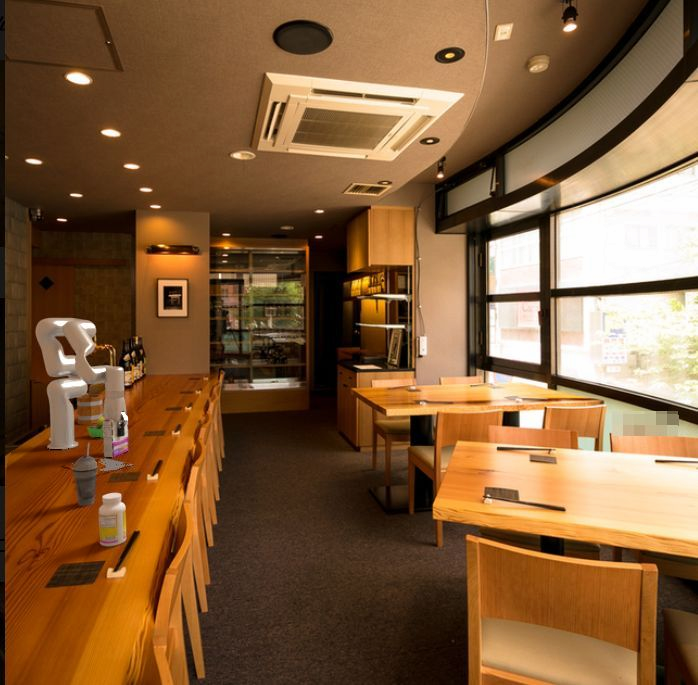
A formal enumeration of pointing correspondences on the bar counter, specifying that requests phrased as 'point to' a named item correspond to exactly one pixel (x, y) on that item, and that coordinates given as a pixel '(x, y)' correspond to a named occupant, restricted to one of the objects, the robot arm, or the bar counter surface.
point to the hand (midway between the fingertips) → (115, 435)
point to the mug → (89, 409)
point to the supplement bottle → (112, 520)
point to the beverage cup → (85, 479)
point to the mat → (111, 464)
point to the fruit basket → (97, 429)
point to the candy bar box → (114, 439)
